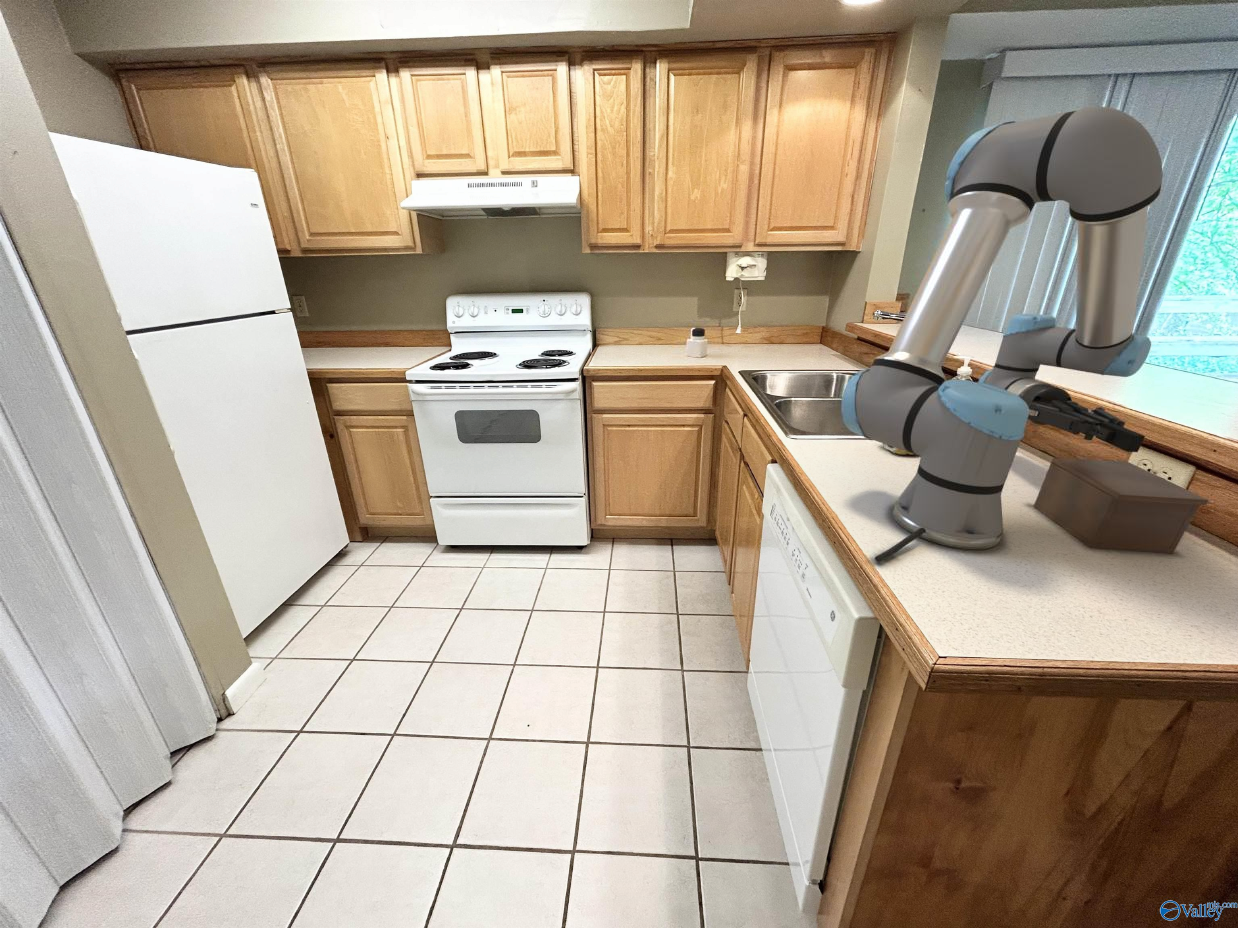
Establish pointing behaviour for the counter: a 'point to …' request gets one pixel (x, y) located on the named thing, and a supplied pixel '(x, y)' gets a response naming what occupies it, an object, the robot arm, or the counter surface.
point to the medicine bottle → (697, 343)
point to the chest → (1111, 515)
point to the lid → (1128, 481)
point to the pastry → (896, 450)
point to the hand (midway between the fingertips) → (1135, 443)
